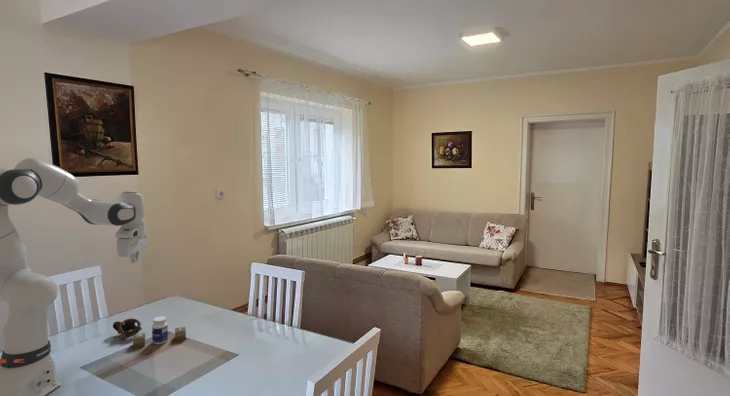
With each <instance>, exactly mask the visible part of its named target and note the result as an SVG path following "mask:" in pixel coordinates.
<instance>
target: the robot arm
mask: <svg viewBox="0 0 730 396" xmlns="http://www.w3.org/2000/svg"><path fill="white" fill-rule="evenodd" d="M80 187H81V186H80V180H79V179H78V178H77V177H75V176H74V175H73V174H71V173H70V172H68V171H67V170H65V169H62V168H60V167H59V166H57V165H55V164H52V163H50V162H47V161H45V160H42V159H39V158H34V157H27V158H25V159H22V160H21V161H19V162H18V163H17V164H16V165H15V167H14V168H13V169H12V168H8V169H4V168H0V302H2V303H5V304H7V306H8V314H7V319H6V322H5V323H4V325H3V326H2V329H1V331H2V339H3V340H2V342H3V350H2V352H1V356H0V396H44V395H46V394H47V393H49V392H50V391H52V390H53V389H55V388H56V387H58V386H60V385H61V386H62V382H61V380H59V379H58V374H57V369H56V364H55V361H54V359H53V358H52V356H51V352H52V345H51V341H50V339H49V328H48V327H49V325H48V323H49V322H48V318H49V313H50V309H51V306H52V304H53V303H54V302H55V300H56V299H57V297H58V295H59V287H58V285H57V283H56V282H55V281H53V280H52V279H51V278H50V277H49V276H47V275H44V274H41V273H37V272H35V271H34V270H33V269H31V267H30V265H29V263H28V259H27V253H28V249H27V247H26V245H25V244H24V242H23V239H22V238H21V236H20V234H19V232H18V230H17V228H16V227H15V225H14V224H13V222H12V220H11V219H10V216H9V206H12V205H13V206H15V205H16V206H18V205H19V206H20V205H24V204H27V203H30V202H32V201H33V200H35V198H36V197H37V196H39V197H41V198H43V199H46V200H48V201H51V202H53V203H58V204H61V205H63V206H65V207H66V208H68V209H70V210H72V211H74V212H75V213H77V214H78V215H80V216H81V218H82V219H83V220H84V221H85V222H86V223H87V224H90V225H101V226H102V225H103V226H111V227H113V226H114V227H119V229H118V230H117V231H116V232H115V238H116V239H117V240H116V252H117V255H118V257H119V258H128V257H129V258H130V263H131V264H136V263H137V262H139V256H140V251H141V250H143V249H145V248H147V247H148V246H149V234H148V231H147V230H146V220H145V213H146V208H145V206H146V205H145V199H144V196H143V194H142V193H140V192H134V191H122V192H121V193H120V195H119V196H118V197H116V198H115V199H112V200H101V199H94V198H93V199H92V198H91V199H89V198H87V197H86V196H84V195H82V194H81V193H80V192H79V191H80ZM61 386H60V387H61ZM58 388H59V387H58ZM55 390H56V389H55ZM52 392H53V391H52ZM49 394H50V393H49ZM46 396H47V395H46Z"/></svg>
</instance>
